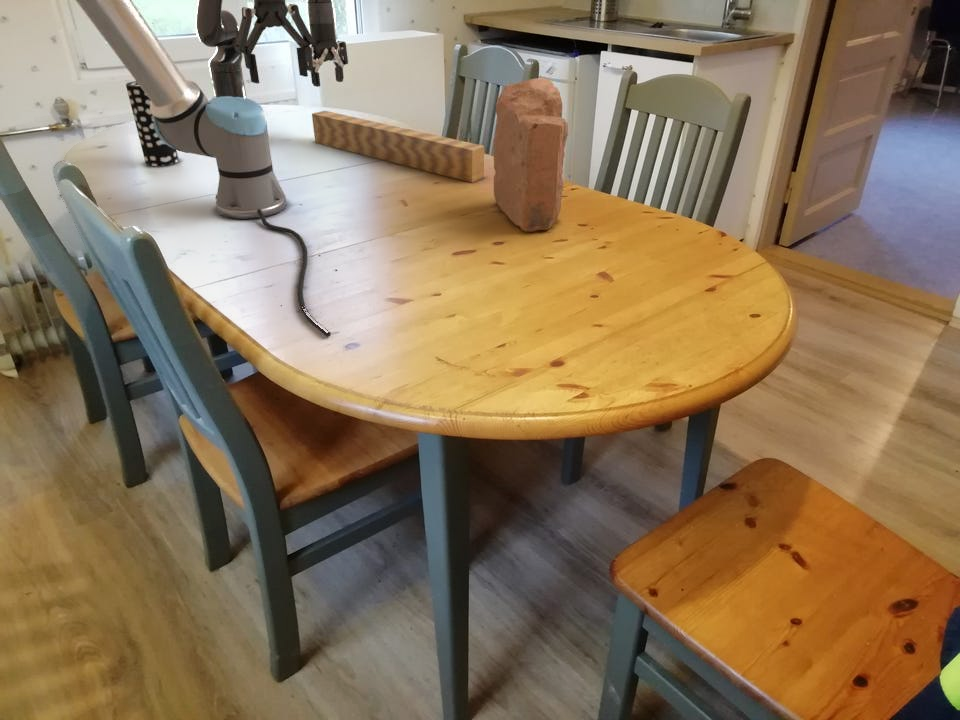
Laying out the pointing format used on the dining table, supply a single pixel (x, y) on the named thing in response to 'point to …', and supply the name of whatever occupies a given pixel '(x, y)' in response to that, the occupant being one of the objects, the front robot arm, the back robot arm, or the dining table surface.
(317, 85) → the back robot arm
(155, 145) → the black white spotted cylinder
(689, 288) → the dining table surface
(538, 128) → the stone
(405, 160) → the beam
